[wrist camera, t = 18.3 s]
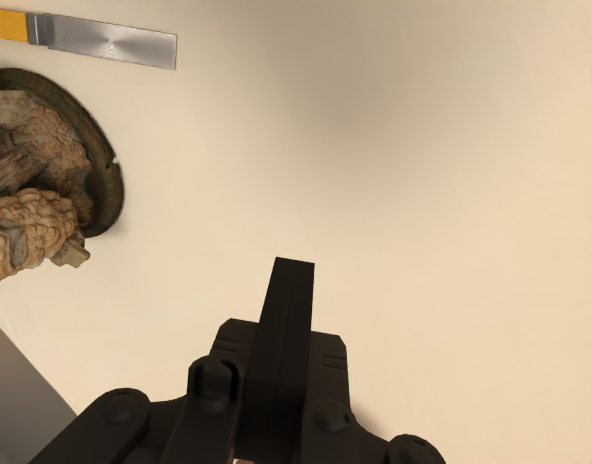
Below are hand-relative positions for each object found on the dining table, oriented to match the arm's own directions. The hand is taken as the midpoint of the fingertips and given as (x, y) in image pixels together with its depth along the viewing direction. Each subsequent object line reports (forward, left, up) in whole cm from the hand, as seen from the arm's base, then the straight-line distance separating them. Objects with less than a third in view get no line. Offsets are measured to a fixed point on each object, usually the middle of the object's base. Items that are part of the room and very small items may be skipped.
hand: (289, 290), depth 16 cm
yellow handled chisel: (-7, -23, -24) cm, 34 cm away
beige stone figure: (+4, -24, -25) cm, 35 cm away
